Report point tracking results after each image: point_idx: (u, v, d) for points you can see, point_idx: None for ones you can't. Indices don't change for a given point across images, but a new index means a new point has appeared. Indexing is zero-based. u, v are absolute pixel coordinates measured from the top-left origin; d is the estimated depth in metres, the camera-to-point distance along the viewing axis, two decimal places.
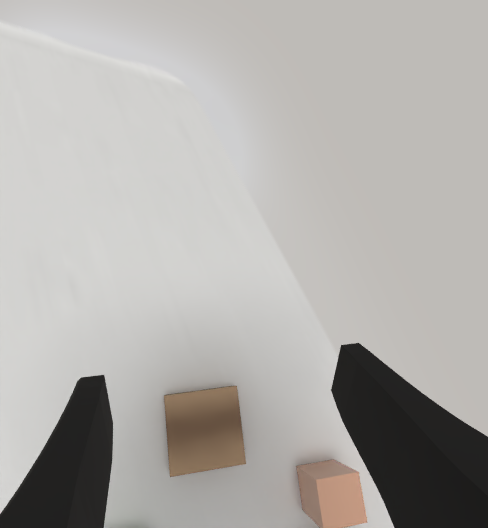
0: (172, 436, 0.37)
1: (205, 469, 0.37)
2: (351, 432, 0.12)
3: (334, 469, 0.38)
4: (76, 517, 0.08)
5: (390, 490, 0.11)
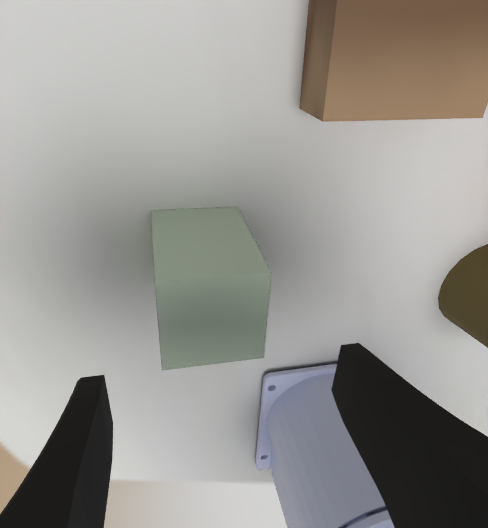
0: (347, 16, 0.14)
1: (400, 116, 0.16)
2: (351, 432, 0.12)
3: None
4: (76, 517, 0.08)
5: (390, 490, 0.11)
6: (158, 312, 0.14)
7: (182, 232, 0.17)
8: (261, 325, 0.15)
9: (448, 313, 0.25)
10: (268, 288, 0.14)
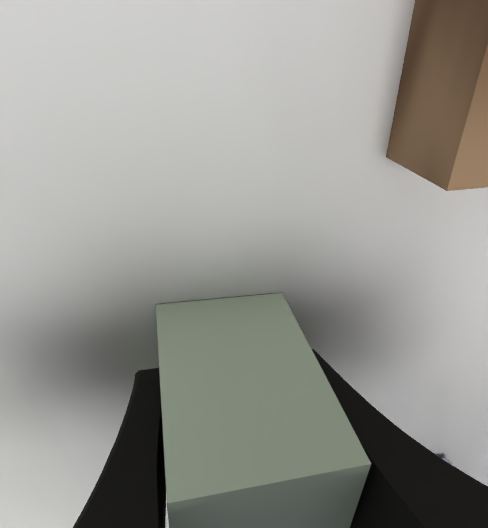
0: None
1: None
2: None
3: None
4: (158, 501, 0.08)
5: None
6: None
7: (207, 356, 0.10)
8: (342, 527, 0.09)
9: None
10: (362, 483, 0.08)
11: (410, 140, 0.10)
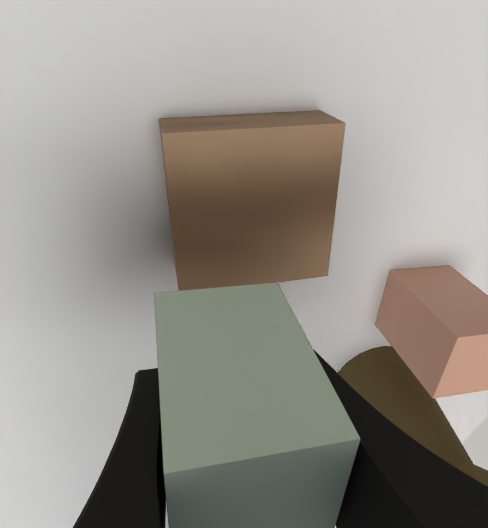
0: (183, 224, 0.16)
1: (250, 283, 0.18)
2: None
3: (473, 304, 0.21)
4: (158, 501, 0.08)
5: None
6: (169, 510, 0.08)
7: (203, 340, 0.11)
8: (334, 504, 0.09)
9: None
10: (352, 459, 0.09)
11: None
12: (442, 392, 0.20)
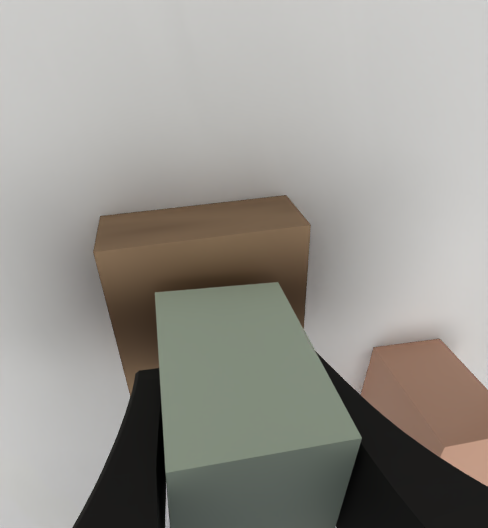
0: (129, 338, 0.14)
1: None
2: None
3: (463, 396, 0.19)
4: (158, 501, 0.08)
5: None
6: (170, 510, 0.08)
7: (204, 340, 0.11)
8: (335, 503, 0.10)
9: None
10: (353, 458, 0.09)
11: None
12: None
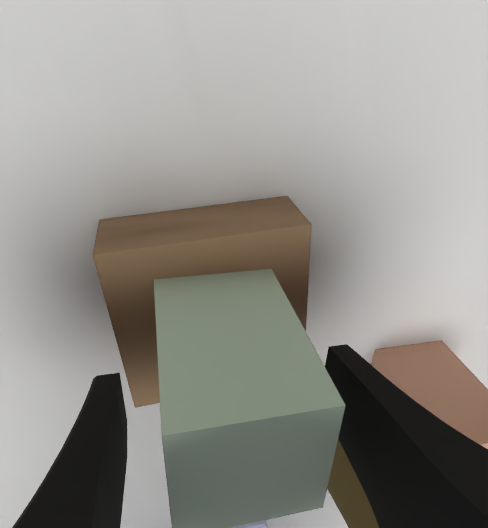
0: (130, 341, 0.14)
1: None
2: (339, 434, 0.12)
3: (466, 398, 0.19)
4: (98, 513, 0.08)
5: (376, 493, 0.11)
6: (168, 473, 0.09)
7: (200, 321, 0.11)
8: (324, 471, 0.10)
9: None
10: (338, 425, 0.09)
11: None
12: None
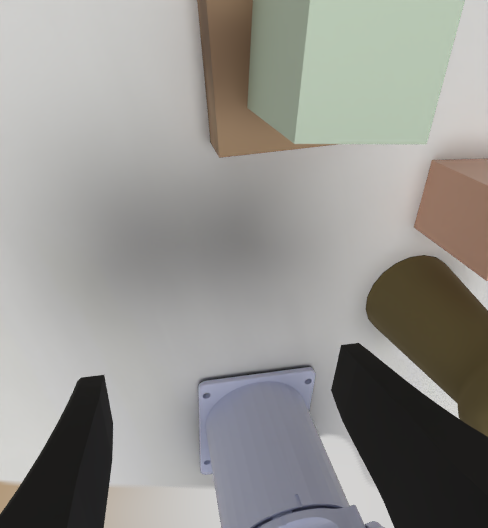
0: (223, 65, 0.15)
1: (293, 146, 0.17)
2: (351, 432, 0.12)
3: None
4: (76, 517, 0.08)
5: (390, 490, 0.11)
6: (308, 25, 0.10)
7: None
8: (437, 81, 0.11)
9: (375, 323, 0.26)
10: (460, 7, 0.10)
11: (211, 131, 0.18)
12: None
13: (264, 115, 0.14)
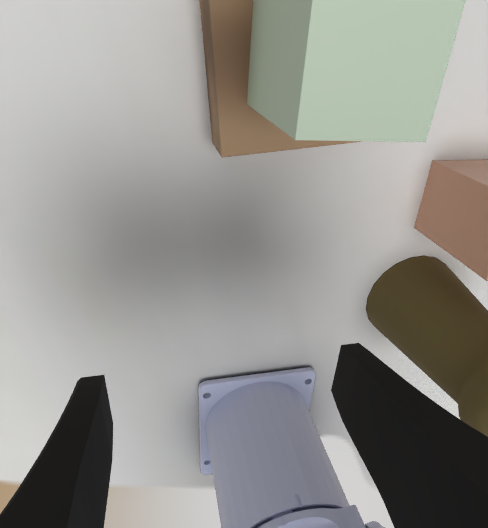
0: (226, 66, 0.15)
1: (295, 146, 0.17)
2: (351, 432, 0.12)
3: None
4: (76, 517, 0.08)
5: (390, 490, 0.11)
6: (311, 22, 0.10)
7: None
8: (437, 79, 0.11)
9: (375, 324, 0.26)
10: (461, 6, 0.10)
11: (213, 131, 0.18)
12: None
13: (264, 112, 0.14)
